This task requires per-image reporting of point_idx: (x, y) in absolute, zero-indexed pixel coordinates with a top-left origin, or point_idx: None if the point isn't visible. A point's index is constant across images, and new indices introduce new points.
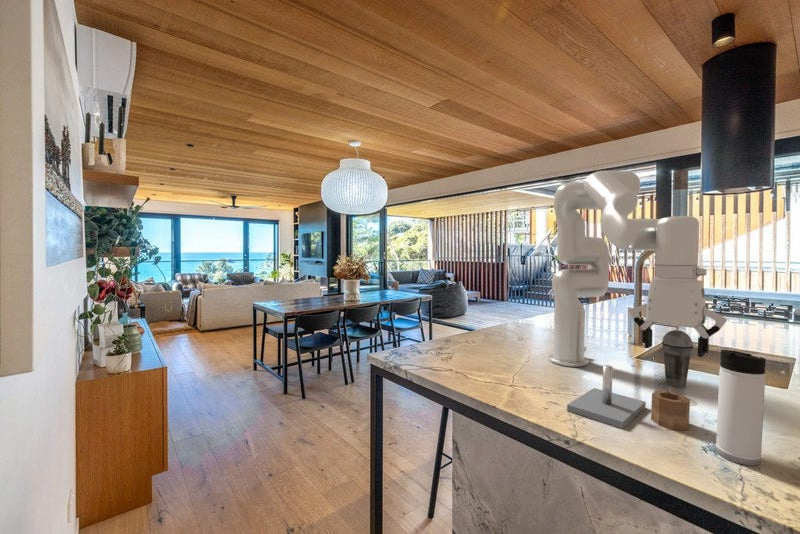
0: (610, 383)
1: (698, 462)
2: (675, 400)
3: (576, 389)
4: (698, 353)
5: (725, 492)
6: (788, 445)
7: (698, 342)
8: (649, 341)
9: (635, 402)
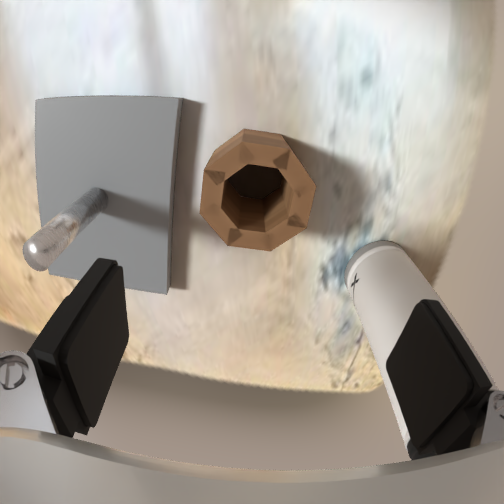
0: (76, 235)
1: (309, 331)
2: (273, 232)
3: (10, 107)
4: (391, 377)
5: (330, 379)
6: (472, 151)
7: (409, 428)
8: (113, 348)
9: (154, 130)
